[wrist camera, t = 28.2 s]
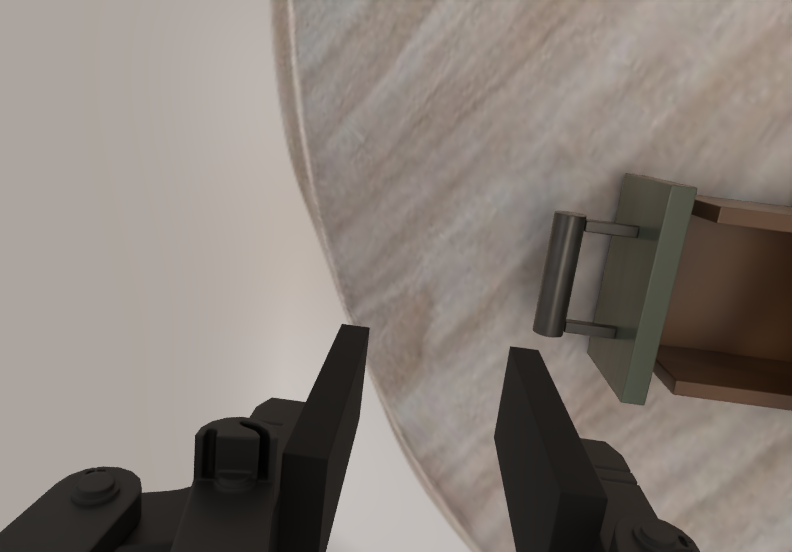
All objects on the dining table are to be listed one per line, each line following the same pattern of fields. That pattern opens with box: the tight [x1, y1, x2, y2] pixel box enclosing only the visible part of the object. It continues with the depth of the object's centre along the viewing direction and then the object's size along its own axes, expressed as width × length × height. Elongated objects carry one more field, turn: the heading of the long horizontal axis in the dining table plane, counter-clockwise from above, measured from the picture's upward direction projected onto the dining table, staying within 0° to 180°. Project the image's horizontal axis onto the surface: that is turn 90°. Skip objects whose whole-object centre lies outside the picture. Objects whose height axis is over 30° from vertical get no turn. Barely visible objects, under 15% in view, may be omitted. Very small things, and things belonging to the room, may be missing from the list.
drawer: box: [533, 173, 792, 410], centre depth 31 cm, size 18×11×7 cm, turn 83°
